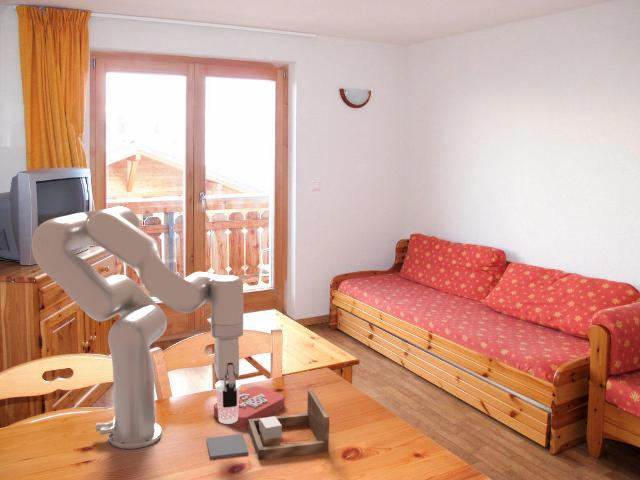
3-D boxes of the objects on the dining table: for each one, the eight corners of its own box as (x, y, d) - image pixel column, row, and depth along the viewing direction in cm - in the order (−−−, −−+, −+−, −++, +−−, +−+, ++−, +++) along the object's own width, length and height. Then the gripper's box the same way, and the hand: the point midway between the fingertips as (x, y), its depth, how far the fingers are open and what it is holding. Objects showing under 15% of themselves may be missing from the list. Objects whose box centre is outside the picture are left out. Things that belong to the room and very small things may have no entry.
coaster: (210, 458, 142) (210, 456, 142) (206, 440, 151) (206, 437, 151) (248, 454, 145) (248, 452, 145) (242, 436, 153) (242, 433, 153)
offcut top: (265, 439, 146) (266, 428, 146) (259, 429, 151) (259, 418, 151) (281, 436, 148) (281, 425, 147) (274, 427, 153) (274, 416, 152)
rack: (258, 459, 142) (259, 424, 141) (248, 427, 158) (248, 395, 156) (328, 451, 147) (329, 416, 145) (311, 421, 162) (312, 389, 161)
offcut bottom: (263, 451, 147) (263, 439, 146) (260, 439, 153) (260, 428, 152) (280, 449, 148) (280, 438, 147) (276, 437, 153) (276, 426, 153)
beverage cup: (228, 411, 151) (227, 357, 148) (246, 418, 147) (246, 363, 145) (210, 420, 146) (209, 365, 143) (228, 427, 142) (228, 371, 140)
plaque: (248, 380, 179) (287, 394, 170) (248, 392, 180) (287, 407, 171) (203, 400, 165) (243, 417, 156) (203, 413, 166) (243, 430, 157)
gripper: (207, 318, 150) (208, 387, 153) (214, 341, 133) (216, 418, 136) (238, 316, 152) (238, 384, 155) (248, 339, 135) (249, 414, 138)
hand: (228, 399), depth 146 cm, fingers closed on beverage cup, 6 cm apart
